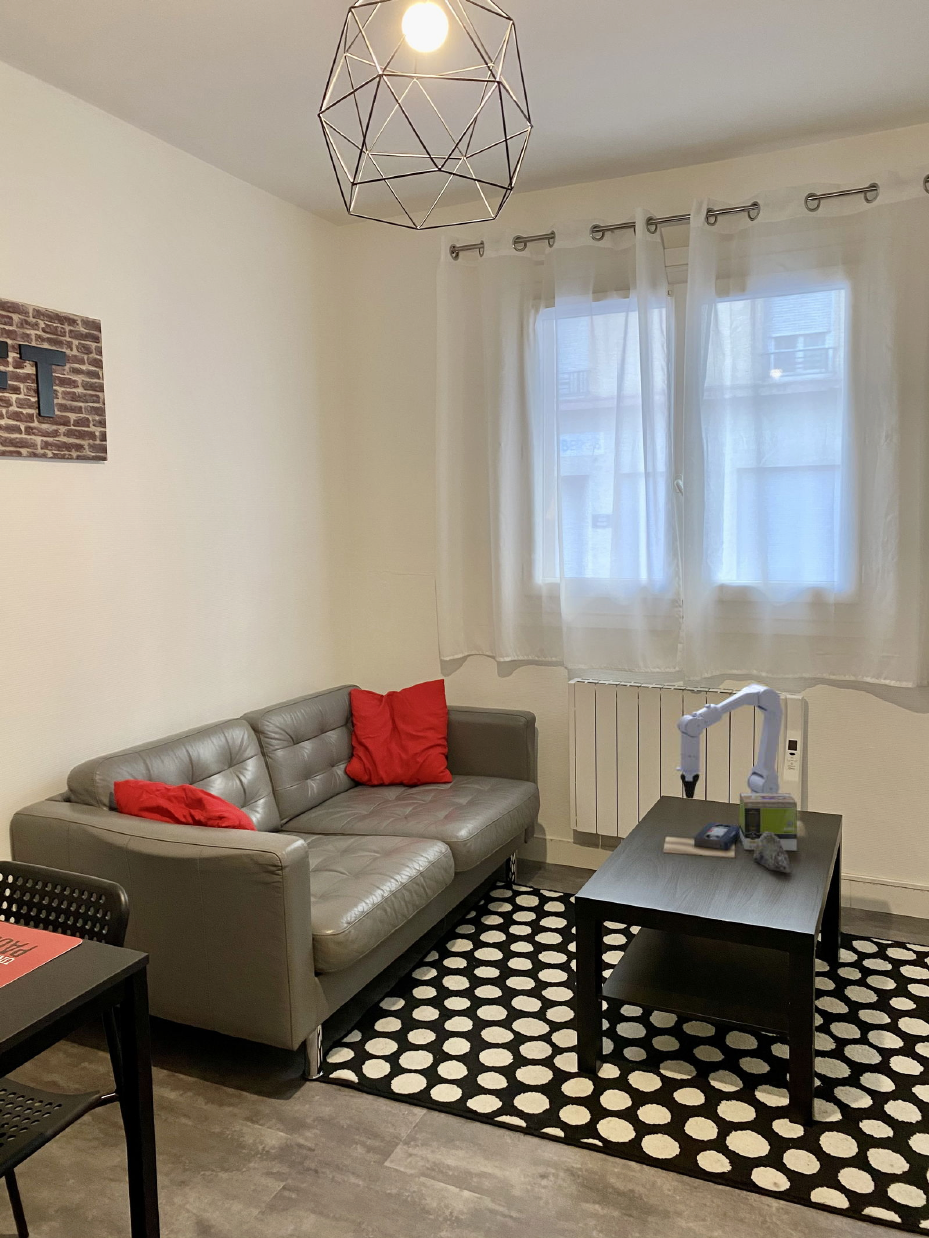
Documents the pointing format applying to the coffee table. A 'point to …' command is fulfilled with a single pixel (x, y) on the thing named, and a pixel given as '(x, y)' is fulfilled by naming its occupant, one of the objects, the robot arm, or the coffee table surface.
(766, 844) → the mineral rock
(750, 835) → the tea box
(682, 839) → the wooden board
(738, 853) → the coffee table surface
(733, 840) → the vhs cassette tape
